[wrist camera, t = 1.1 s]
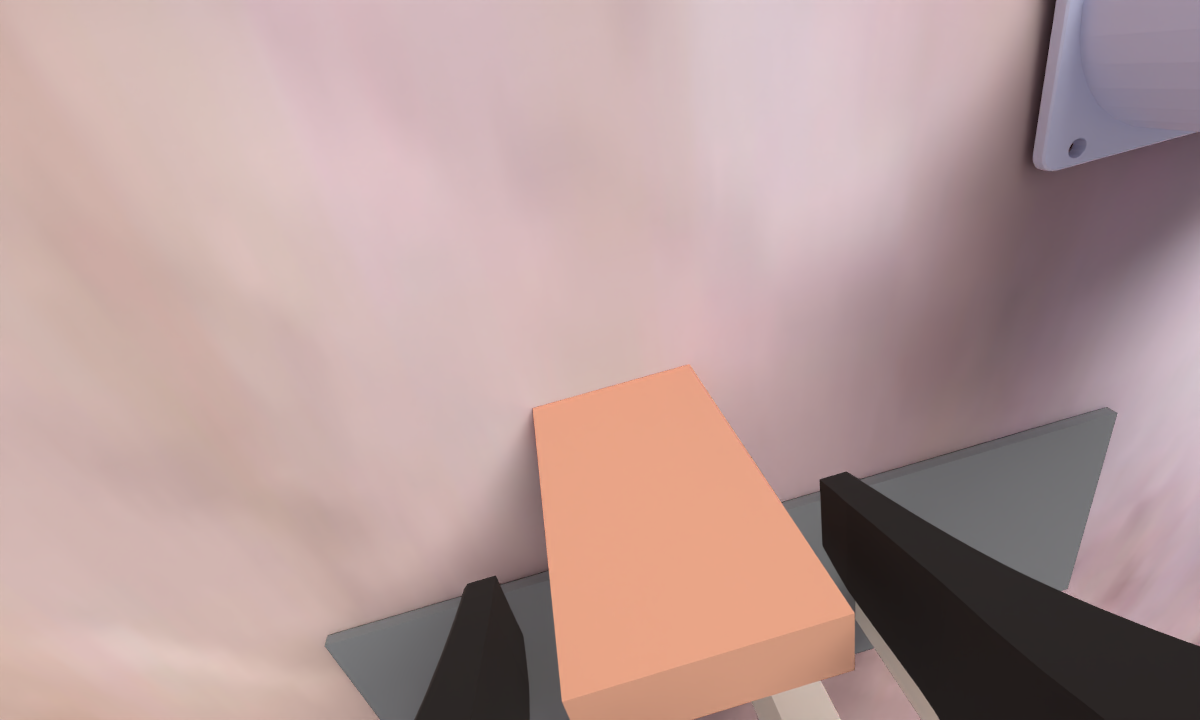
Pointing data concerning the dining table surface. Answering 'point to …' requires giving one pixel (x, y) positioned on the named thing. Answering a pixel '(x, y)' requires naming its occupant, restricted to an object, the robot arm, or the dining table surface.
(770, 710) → the domino
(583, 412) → the terracotta domino
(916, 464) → the slate mat
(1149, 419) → the dining table surface
